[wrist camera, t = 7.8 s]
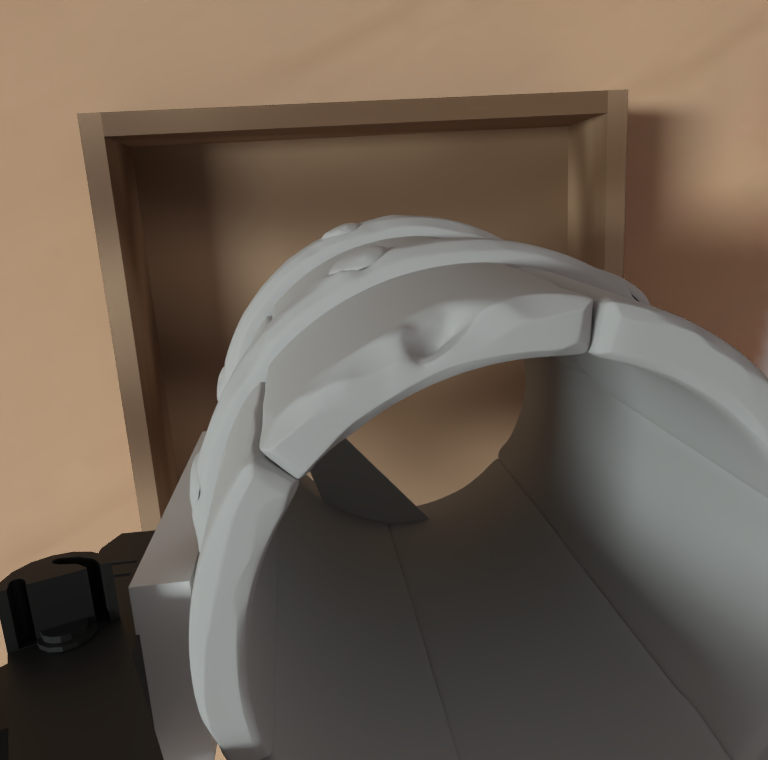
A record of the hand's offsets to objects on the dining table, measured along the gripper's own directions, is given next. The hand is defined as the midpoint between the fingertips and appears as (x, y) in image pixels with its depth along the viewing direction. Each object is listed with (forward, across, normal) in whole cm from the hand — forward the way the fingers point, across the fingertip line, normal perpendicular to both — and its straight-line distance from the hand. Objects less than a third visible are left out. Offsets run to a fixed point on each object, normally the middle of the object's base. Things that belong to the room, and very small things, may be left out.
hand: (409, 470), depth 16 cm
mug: (+1, +1, 0) cm, 1 cm away
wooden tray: (+9, 0, 0) cm, 9 cm away
